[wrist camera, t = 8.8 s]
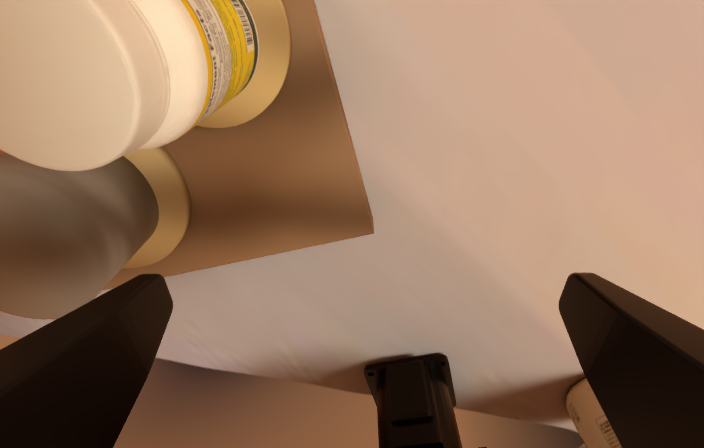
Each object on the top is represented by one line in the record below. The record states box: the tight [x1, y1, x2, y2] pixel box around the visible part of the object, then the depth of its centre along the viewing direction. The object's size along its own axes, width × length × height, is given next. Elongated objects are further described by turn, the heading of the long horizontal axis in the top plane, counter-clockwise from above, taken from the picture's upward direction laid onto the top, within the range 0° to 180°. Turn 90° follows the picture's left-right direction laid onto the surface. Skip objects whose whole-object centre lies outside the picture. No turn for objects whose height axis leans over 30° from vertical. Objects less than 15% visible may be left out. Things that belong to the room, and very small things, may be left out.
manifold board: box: [0, 0, 374, 319], centre depth 14 cm, size 18×18×7 cm
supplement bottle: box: [0, 0, 259, 171], centre depth 10 cm, size 5×5×8 cm
